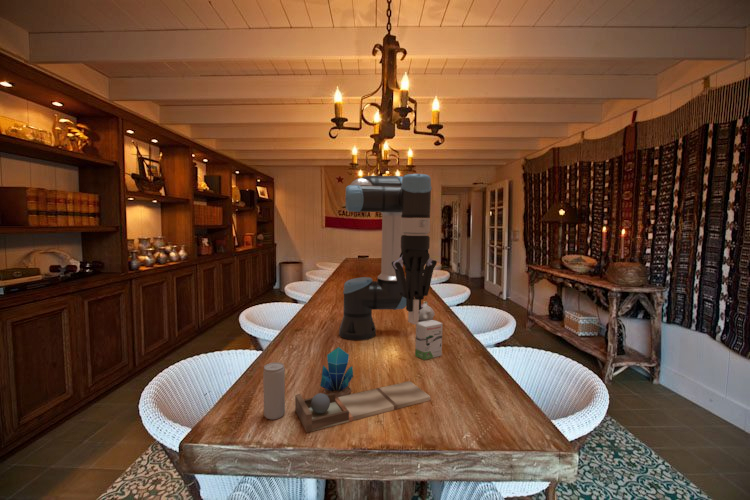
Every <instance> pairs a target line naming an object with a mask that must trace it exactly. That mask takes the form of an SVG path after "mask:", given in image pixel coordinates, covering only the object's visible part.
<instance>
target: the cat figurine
mask: <svg viewBox="0 0 750 500" xmlns="http://www.w3.org/2000/svg"><path fill="white" fill-rule="evenodd" d="M422 302H423V303H421V310H419V321H420V322H423V321H429V320H434V316H435V311H434V309H433V308H432V307H431V306H429V305H428V301H425V300H422Z"/></svg>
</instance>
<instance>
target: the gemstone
mask: <svg viewBox="0 0 750 500" xmlns="http://www.w3.org/2000/svg"><path fill="white" fill-rule="evenodd" d="M349 356H350V355H349V353H347V352H346V351H345V350H344V349H342V348H340V346H338V347H336V348H334V350H332V351H330V352H329V353H328V354H326V357H327V358H326V359H327V367H326V366H325V365H324V364H323V365H322V371H321V379H320V384H319V386H320V387H321V388H324V390H323V394H331V393H335V398H337V397H341V396H346V395H350V394H352V393H351V391H352V390H351V387H350V386H349V384H350V383H351V381H352V379H353V378H354V368H353V365H351V366H349V368H348V369H347V366H348V365H349V359H350V357H349Z"/></svg>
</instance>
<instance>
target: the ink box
mask: <svg viewBox="0 0 750 500" xmlns="http://www.w3.org/2000/svg"><path fill="white" fill-rule="evenodd" d="M414 346H415V350H414V351H415V352H414V356H415V357H416V358H419V359H421V360H423V361H425V360H426V361H427V360H429V359H434V358H439V357H441V356H442V355H443V354H442V353H443V352H442V350H443V322H440V321H438V320H436V319H432V320H429V321H423V322H422V321H419V322H418V324H415V345H414Z"/></svg>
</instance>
